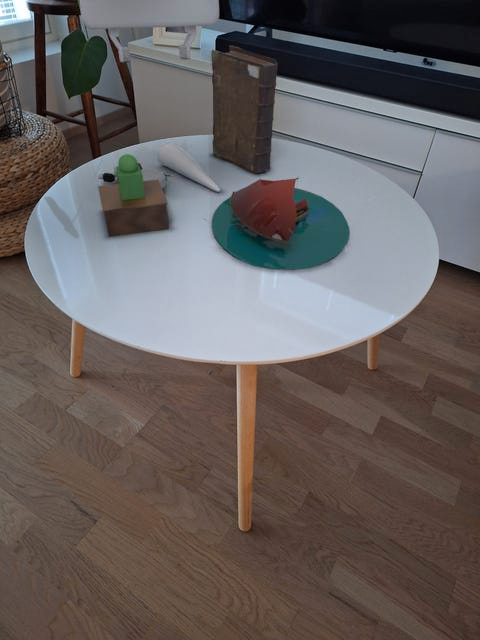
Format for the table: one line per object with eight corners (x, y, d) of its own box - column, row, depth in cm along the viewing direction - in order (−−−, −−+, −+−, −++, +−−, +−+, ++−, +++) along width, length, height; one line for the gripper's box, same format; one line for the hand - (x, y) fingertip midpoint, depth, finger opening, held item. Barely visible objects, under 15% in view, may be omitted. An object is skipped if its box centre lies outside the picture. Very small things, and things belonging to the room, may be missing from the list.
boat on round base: (187, 216, 98) (184, 168, 90) (293, 180, 109) (298, 134, 101) (261, 295, 83) (265, 246, 74) (376, 244, 93) (391, 196, 85)
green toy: (122, 200, 90) (115, 160, 85) (119, 190, 93) (113, 151, 88) (145, 197, 91) (140, 158, 86) (141, 187, 94) (137, 149, 89)
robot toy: (96, 188, 108) (131, 208, 99) (92, 169, 105) (127, 188, 96) (141, 174, 114) (177, 192, 106) (138, 155, 111) (175, 172, 103)
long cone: (197, 206, 105) (156, 166, 115) (220, 201, 108) (178, 163, 118) (200, 183, 101) (157, 144, 111) (224, 179, 105) (180, 141, 114)
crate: (107, 237, 91) (102, 210, 87) (103, 212, 99) (98, 185, 95) (169, 229, 94) (167, 202, 90) (160, 205, 102) (158, 179, 98)
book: (273, 171, 116) (282, 60, 99) (251, 178, 113) (257, 64, 96) (232, 149, 125) (233, 44, 109) (210, 155, 122) (209, 48, 105)
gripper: (67, -52, 59) (88, 68, 68) (222, -50, 64) (222, 62, 73) (65, -56, 63) (85, 57, 72) (210, -54, 68) (212, 52, 77)
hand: (155, 60), depth 73 cm, fingers open, 8 cm apart
